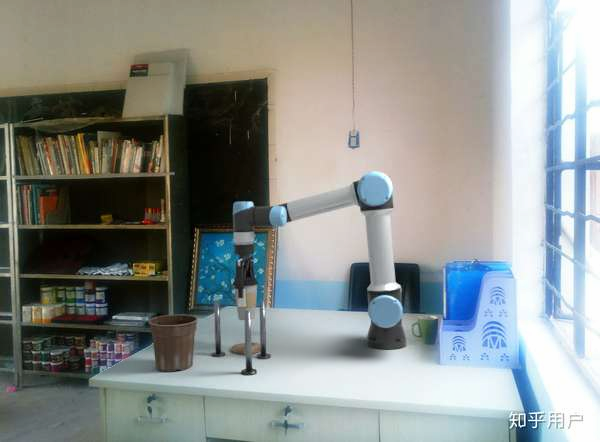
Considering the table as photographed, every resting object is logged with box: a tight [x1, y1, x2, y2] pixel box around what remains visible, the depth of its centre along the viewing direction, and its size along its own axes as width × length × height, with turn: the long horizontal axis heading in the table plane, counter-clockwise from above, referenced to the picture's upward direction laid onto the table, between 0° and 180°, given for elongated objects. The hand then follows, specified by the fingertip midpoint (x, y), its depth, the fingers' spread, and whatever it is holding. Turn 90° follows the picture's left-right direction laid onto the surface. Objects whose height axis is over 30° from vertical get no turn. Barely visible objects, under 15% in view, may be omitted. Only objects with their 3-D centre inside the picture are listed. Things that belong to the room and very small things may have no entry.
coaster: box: [230, 342, 261, 356], centre depth 197 cm, size 12×12×1 cm
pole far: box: [210, 299, 226, 358], centre depth 191 cm, size 5×5×20 cm
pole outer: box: [240, 311, 258, 376], centre depth 171 cm, size 5×5×20 cm
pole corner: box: [256, 300, 272, 360], centre depth 188 cm, size 5×5×20 cm
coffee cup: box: [232, 277, 259, 321], centre depth 196 cm, size 9×9×15 cm
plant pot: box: [148, 314, 199, 373], centre depth 179 cm, size 16×16×16 cm
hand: (245, 303), depth 196 cm, fingers closed on coffee cup, 9 cm apart
